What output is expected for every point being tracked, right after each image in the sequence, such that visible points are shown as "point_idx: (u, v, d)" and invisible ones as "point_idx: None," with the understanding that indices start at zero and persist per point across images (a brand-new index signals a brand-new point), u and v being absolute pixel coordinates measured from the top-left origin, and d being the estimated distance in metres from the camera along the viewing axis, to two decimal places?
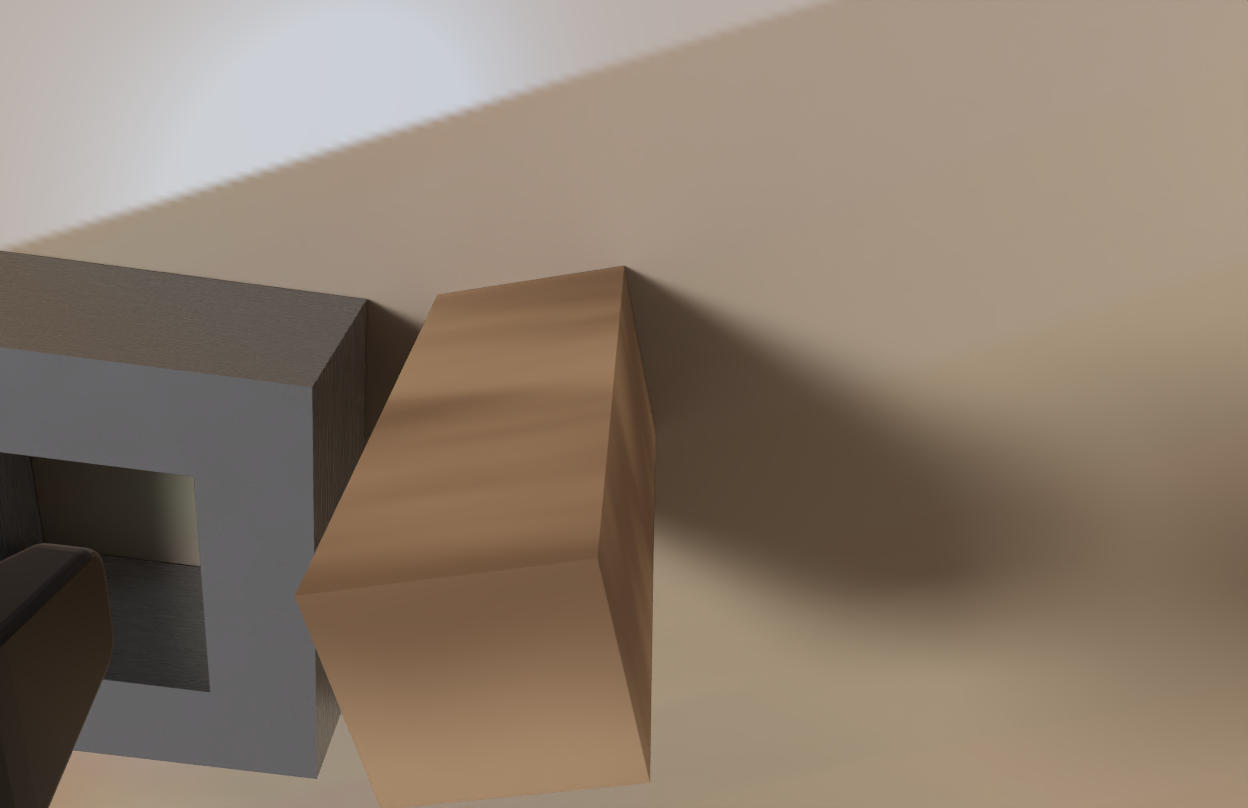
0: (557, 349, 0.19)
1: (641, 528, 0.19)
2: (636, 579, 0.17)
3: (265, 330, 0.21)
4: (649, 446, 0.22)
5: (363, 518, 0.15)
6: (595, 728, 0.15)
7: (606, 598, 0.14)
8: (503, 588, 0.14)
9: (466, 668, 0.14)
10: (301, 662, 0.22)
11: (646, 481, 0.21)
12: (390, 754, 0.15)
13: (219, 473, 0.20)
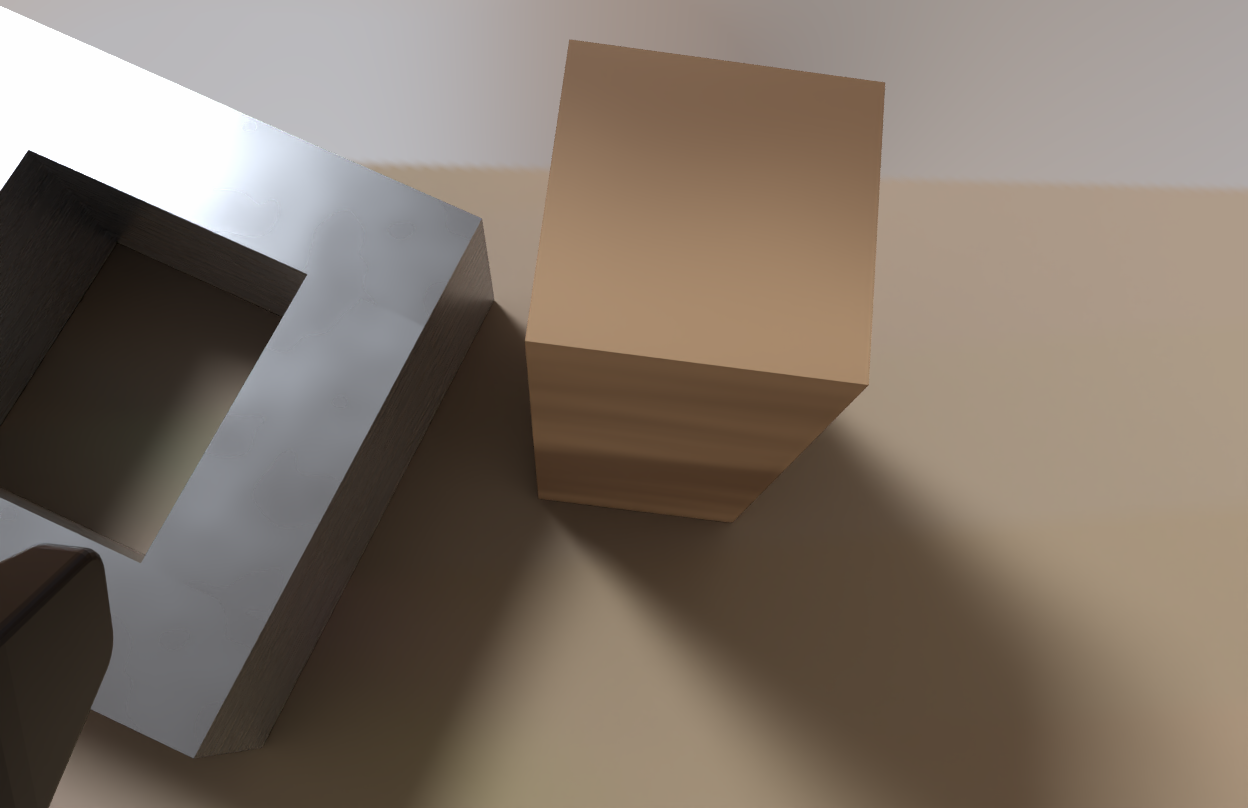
0: None
1: None
2: None
3: None
4: None
5: None
6: (824, 287, 0.13)
7: (881, 129, 0.13)
8: (782, 88, 0.13)
9: (710, 169, 0.13)
10: (284, 548, 0.17)
11: None
12: (576, 260, 0.13)
13: (336, 278, 0.19)
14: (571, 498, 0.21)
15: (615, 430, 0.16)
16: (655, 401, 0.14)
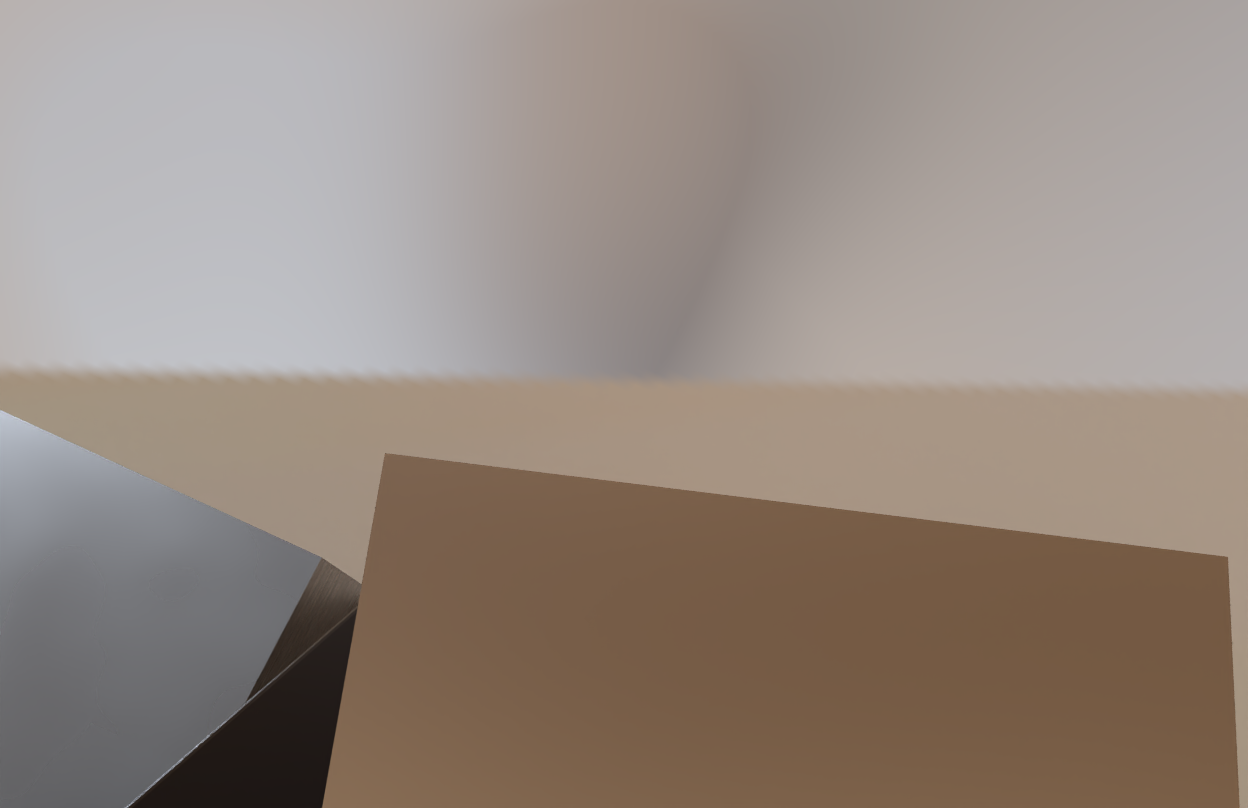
0: None
1: None
2: None
3: None
4: None
5: None
6: None
7: (1230, 699, 0.05)
8: (963, 585, 0.05)
9: None
10: None
11: None
12: None
13: (47, 683, 0.10)
14: None
15: None
16: None
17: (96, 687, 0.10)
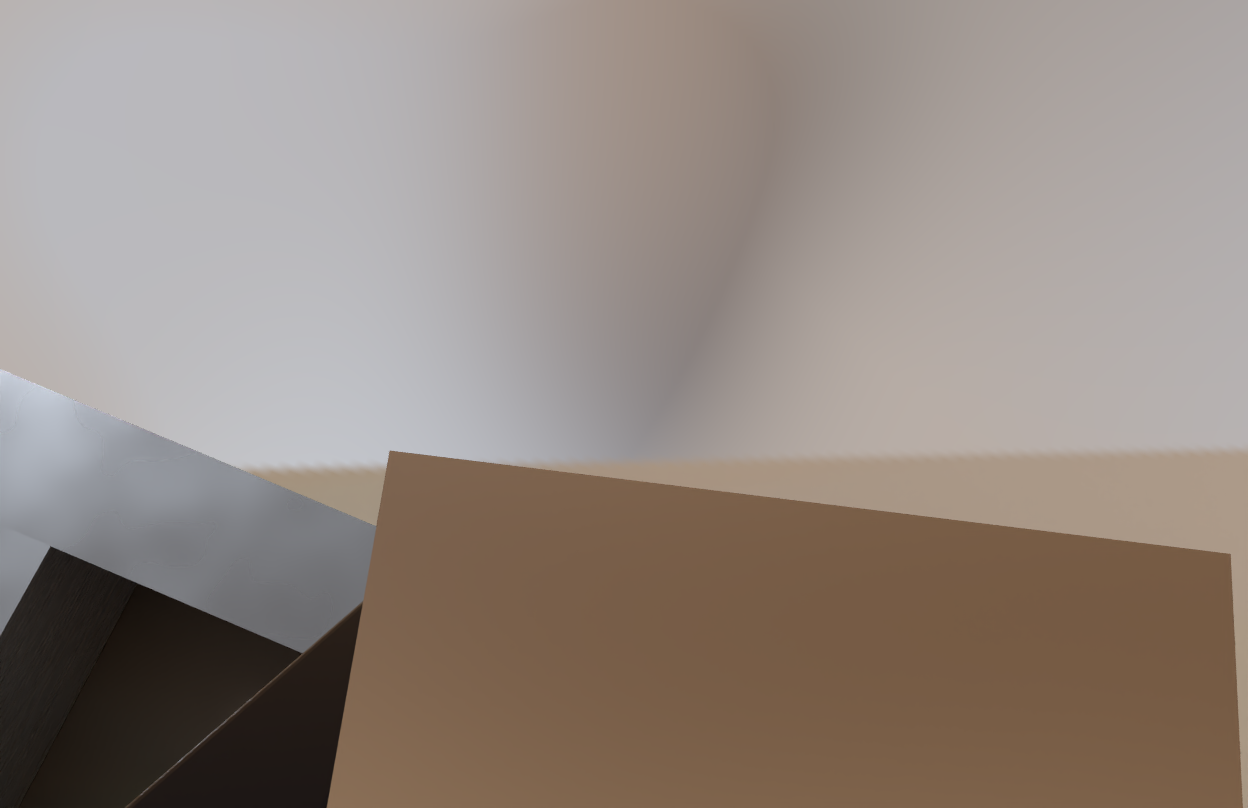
0: None
1: None
2: None
3: None
4: None
5: None
6: None
7: (1233, 696, 0.05)
8: (964, 582, 0.05)
9: None
10: None
11: None
12: None
13: None
14: None
15: None
16: None
17: None
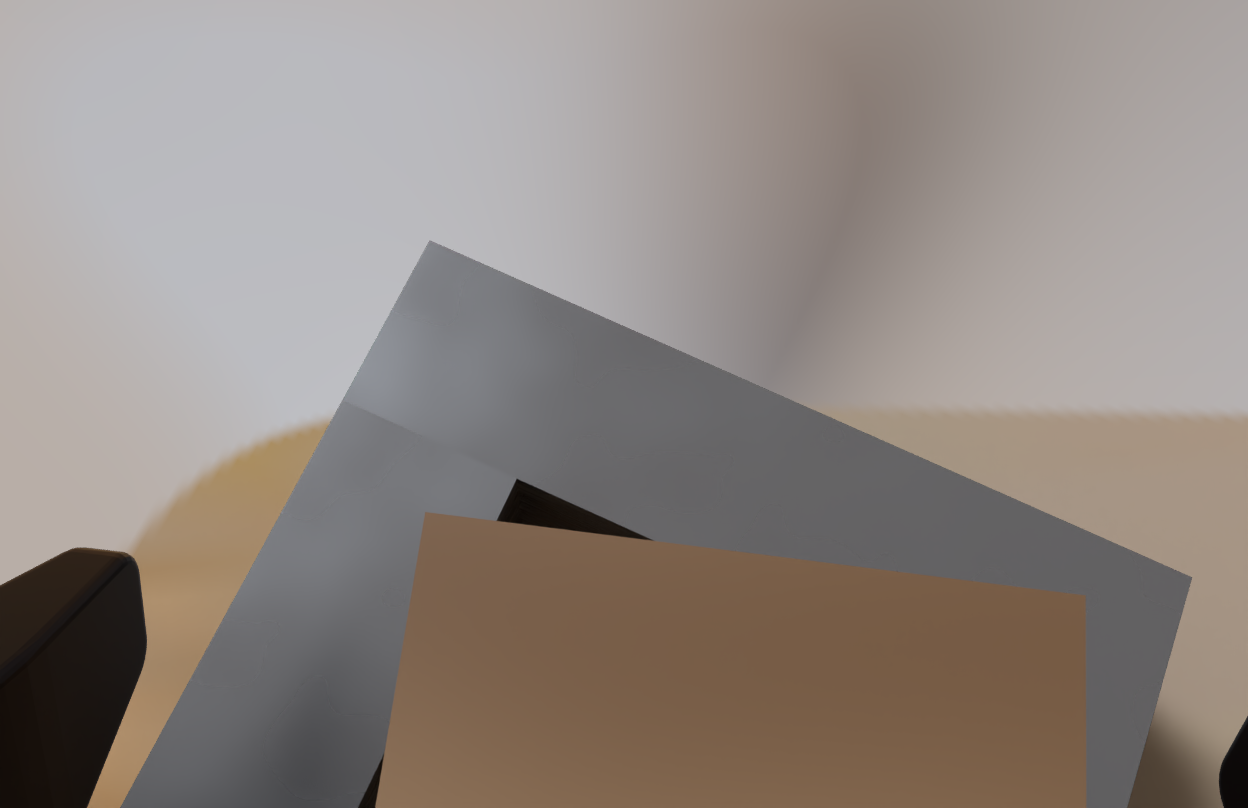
0: None
1: None
2: None
3: None
4: None
5: None
6: None
7: (1083, 707, 0.06)
8: (875, 618, 0.06)
9: None
10: None
11: None
12: None
13: None
14: None
15: None
16: None
17: None
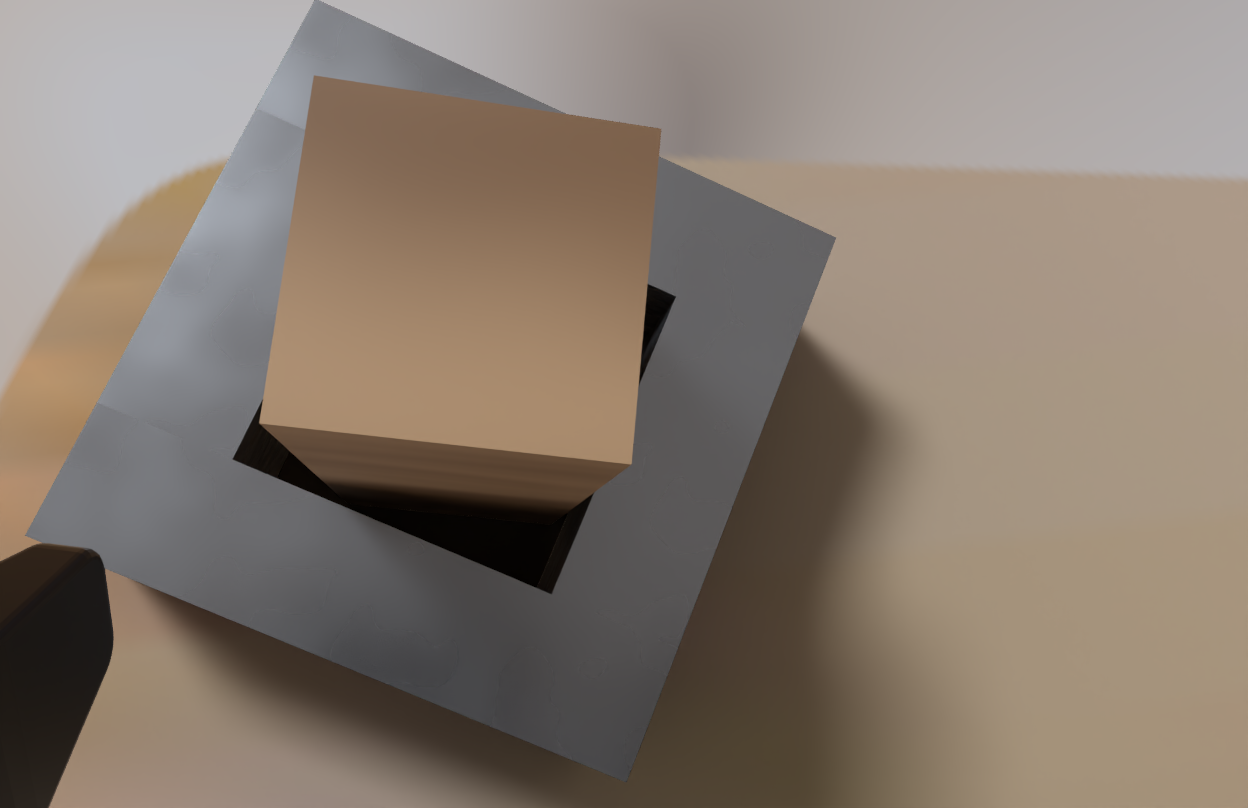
0: None
1: None
2: None
3: None
4: None
5: None
6: (590, 357, 0.12)
7: (655, 181, 0.13)
8: (550, 135, 0.12)
9: (469, 227, 0.12)
10: (686, 574, 0.18)
11: None
12: (318, 330, 0.12)
13: (705, 300, 0.19)
14: (381, 505, 0.21)
15: (395, 474, 0.15)
16: (423, 461, 0.13)
17: (730, 303, 0.19)
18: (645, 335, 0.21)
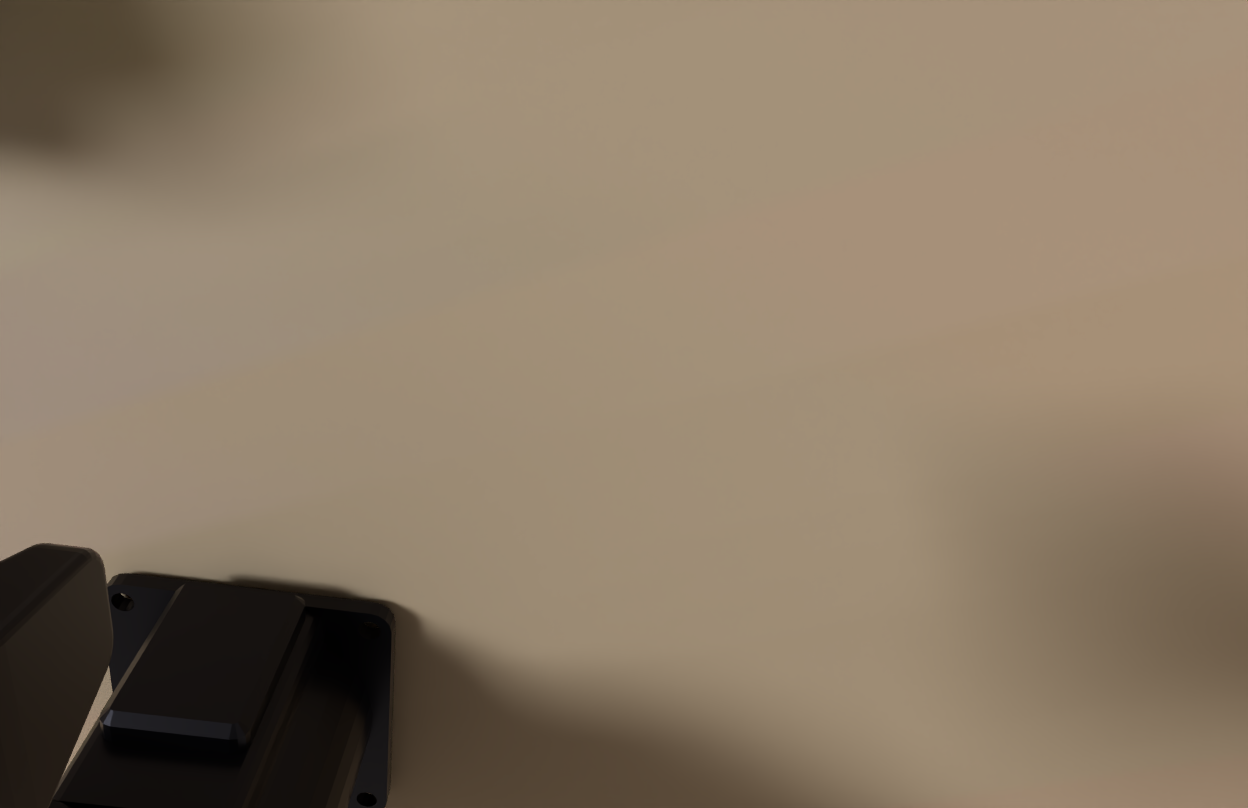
0: None
1: None
2: None
3: None
4: None
5: None
6: None
7: None
8: None
9: None
10: None
11: None
12: None
13: None
14: None
15: None
16: None
17: None
18: None
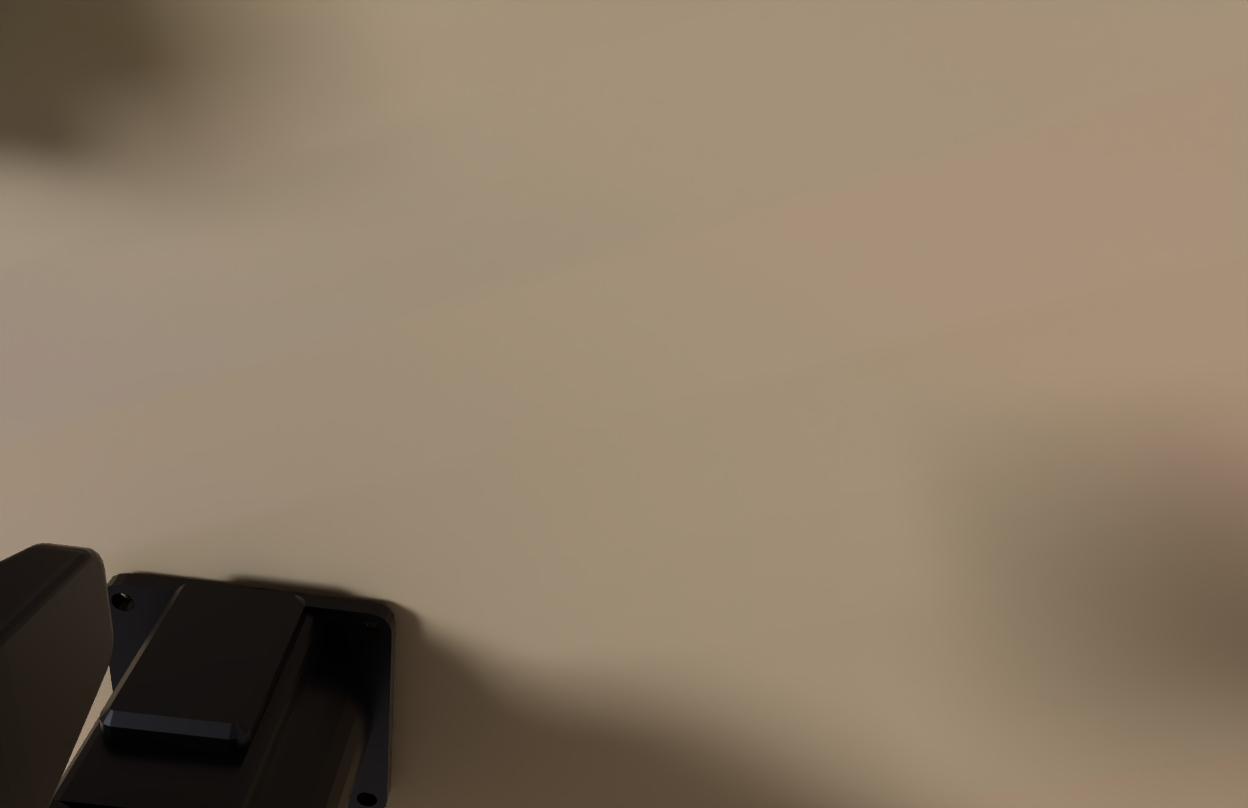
0: None
1: None
2: None
3: None
4: None
5: None
6: None
7: None
8: None
9: None
10: None
11: None
12: None
13: None
14: None
15: None
16: None
17: None
18: None
